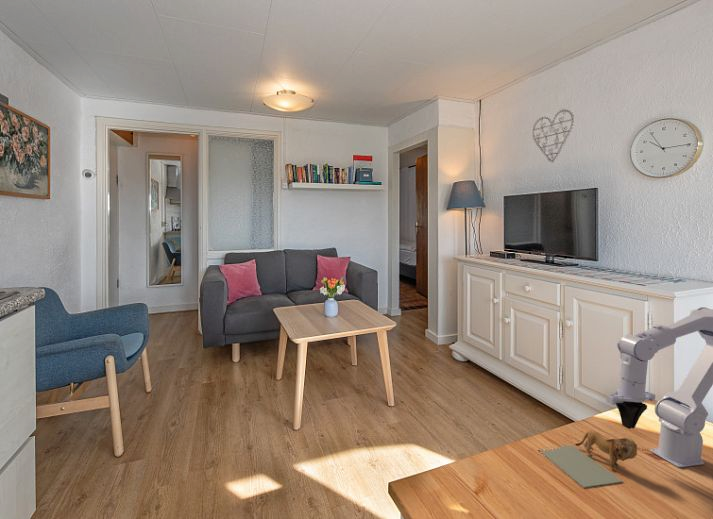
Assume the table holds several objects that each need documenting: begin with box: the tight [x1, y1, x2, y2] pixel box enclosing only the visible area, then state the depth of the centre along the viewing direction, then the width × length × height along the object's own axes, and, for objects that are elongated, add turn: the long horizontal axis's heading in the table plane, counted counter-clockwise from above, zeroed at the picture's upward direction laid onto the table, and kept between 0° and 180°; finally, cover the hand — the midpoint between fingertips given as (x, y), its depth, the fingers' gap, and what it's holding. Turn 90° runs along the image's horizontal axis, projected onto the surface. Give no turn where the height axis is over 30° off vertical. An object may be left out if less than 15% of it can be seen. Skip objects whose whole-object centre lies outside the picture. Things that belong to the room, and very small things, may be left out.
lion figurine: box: [574, 429, 638, 472], centre depth 101 cm, size 15×5×9 cm, turn 33°
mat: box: [539, 444, 624, 489], centre depth 99 cm, size 12×16×1 cm
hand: (628, 426), depth 102 cm, fingers closed
